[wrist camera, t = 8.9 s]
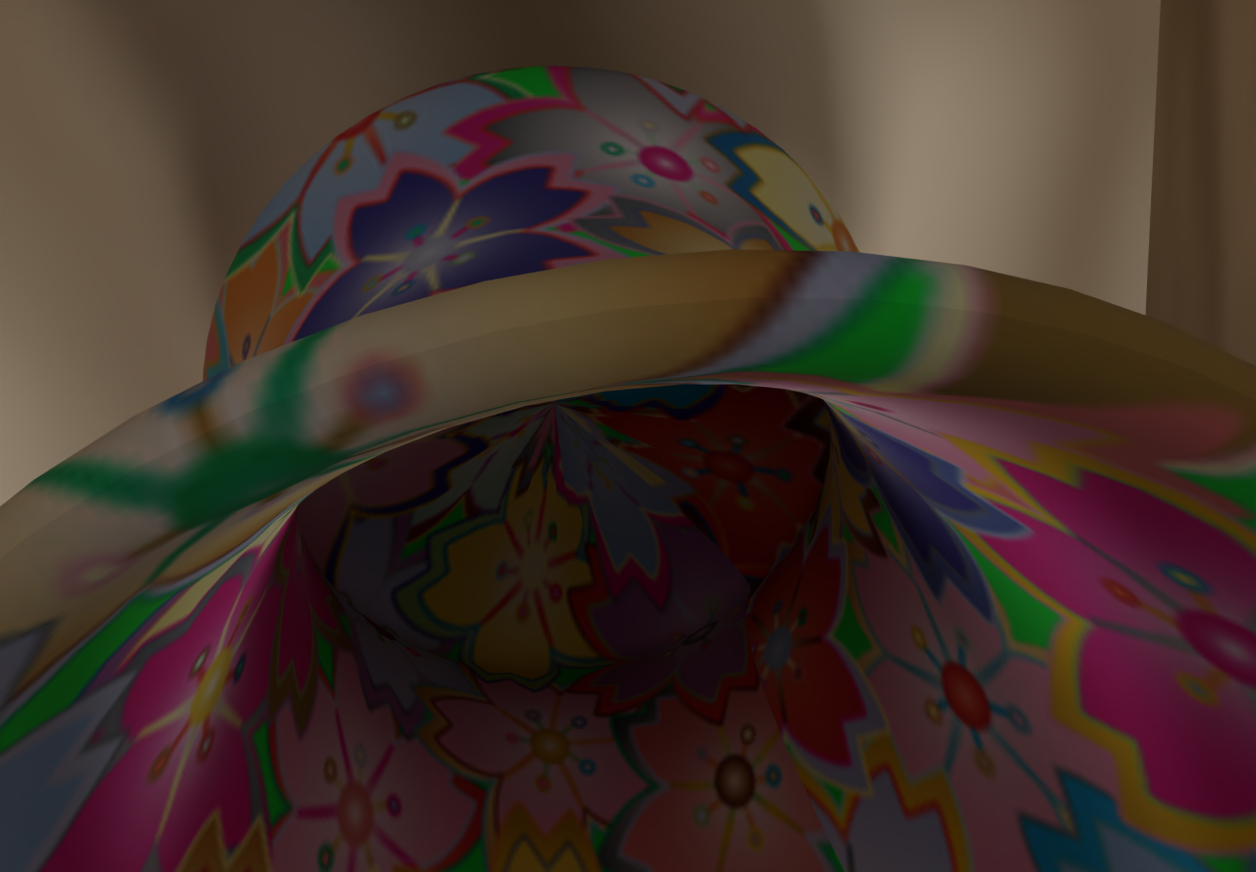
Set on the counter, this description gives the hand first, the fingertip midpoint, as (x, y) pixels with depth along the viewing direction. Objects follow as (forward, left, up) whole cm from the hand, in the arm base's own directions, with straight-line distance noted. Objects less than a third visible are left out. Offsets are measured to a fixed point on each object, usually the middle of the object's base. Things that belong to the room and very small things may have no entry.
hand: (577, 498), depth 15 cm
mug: (+1, 0, -1) cm, 1 cm away
